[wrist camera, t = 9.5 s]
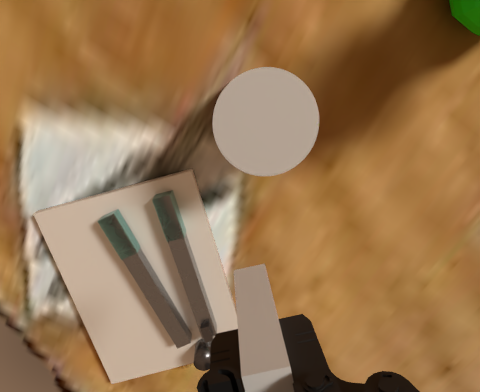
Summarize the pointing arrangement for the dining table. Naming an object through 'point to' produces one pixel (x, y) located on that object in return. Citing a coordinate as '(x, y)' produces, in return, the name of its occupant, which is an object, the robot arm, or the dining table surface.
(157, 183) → the rest board
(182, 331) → the bar
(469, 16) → the plastic bottle
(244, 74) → the cup
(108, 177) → the dining table surface
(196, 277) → the tongs fixed
